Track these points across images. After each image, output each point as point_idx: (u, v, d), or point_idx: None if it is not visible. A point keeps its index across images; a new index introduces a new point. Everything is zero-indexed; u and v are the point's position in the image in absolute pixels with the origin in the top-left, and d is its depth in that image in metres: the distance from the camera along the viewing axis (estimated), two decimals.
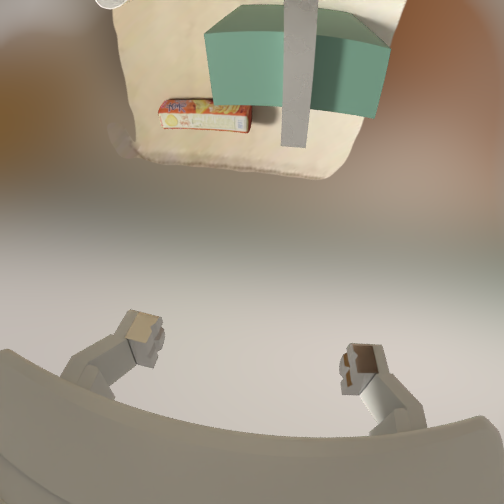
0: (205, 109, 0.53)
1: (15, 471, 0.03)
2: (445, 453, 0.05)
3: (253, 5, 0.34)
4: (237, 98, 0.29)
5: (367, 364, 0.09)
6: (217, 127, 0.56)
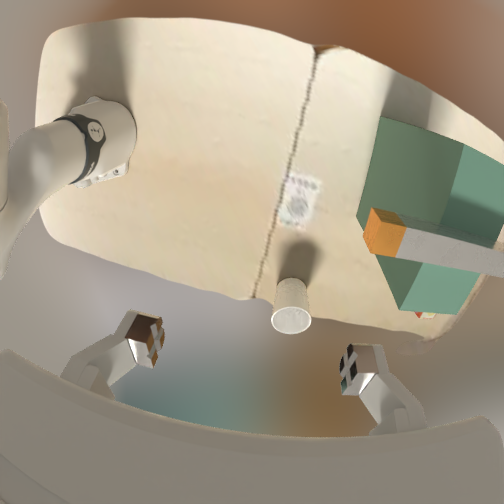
0: None
1: (15, 471, 0.03)
2: (446, 453, 0.05)
3: (361, 208, 0.48)
4: (462, 296, 0.27)
5: (368, 364, 0.09)
6: None
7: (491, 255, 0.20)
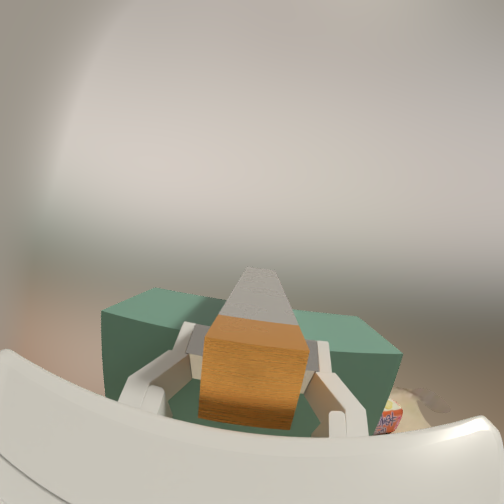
0: None
1: (15, 471, 0.03)
2: (445, 453, 0.05)
3: None
4: (331, 316, 0.24)
5: None
6: None
7: (250, 276, 0.22)
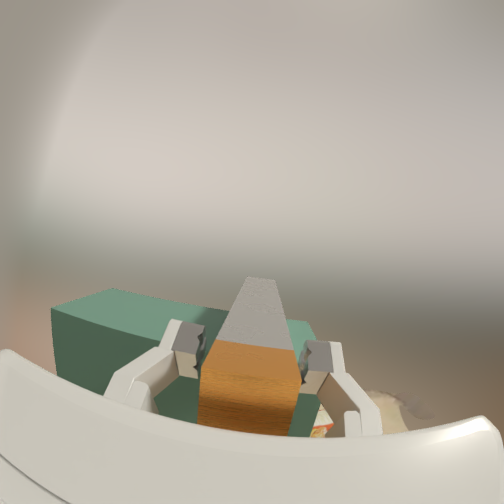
0: None
1: (15, 471, 0.03)
2: (445, 453, 0.05)
3: None
4: None
5: (321, 361, 0.10)
6: None
7: (250, 288, 0.22)
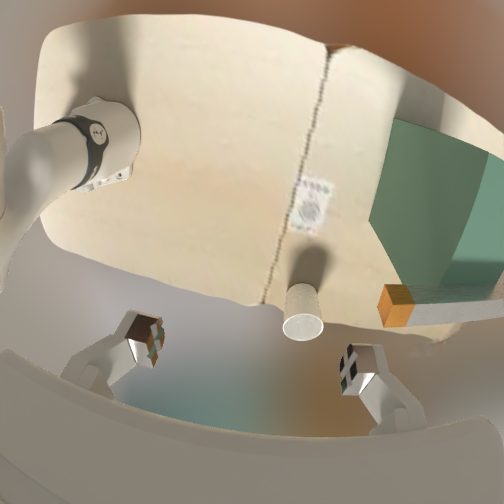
0: None
1: (15, 471, 0.03)
2: (445, 453, 0.05)
3: (373, 212, 0.46)
4: None
5: (368, 364, 0.09)
6: None
7: (494, 304, 0.21)
